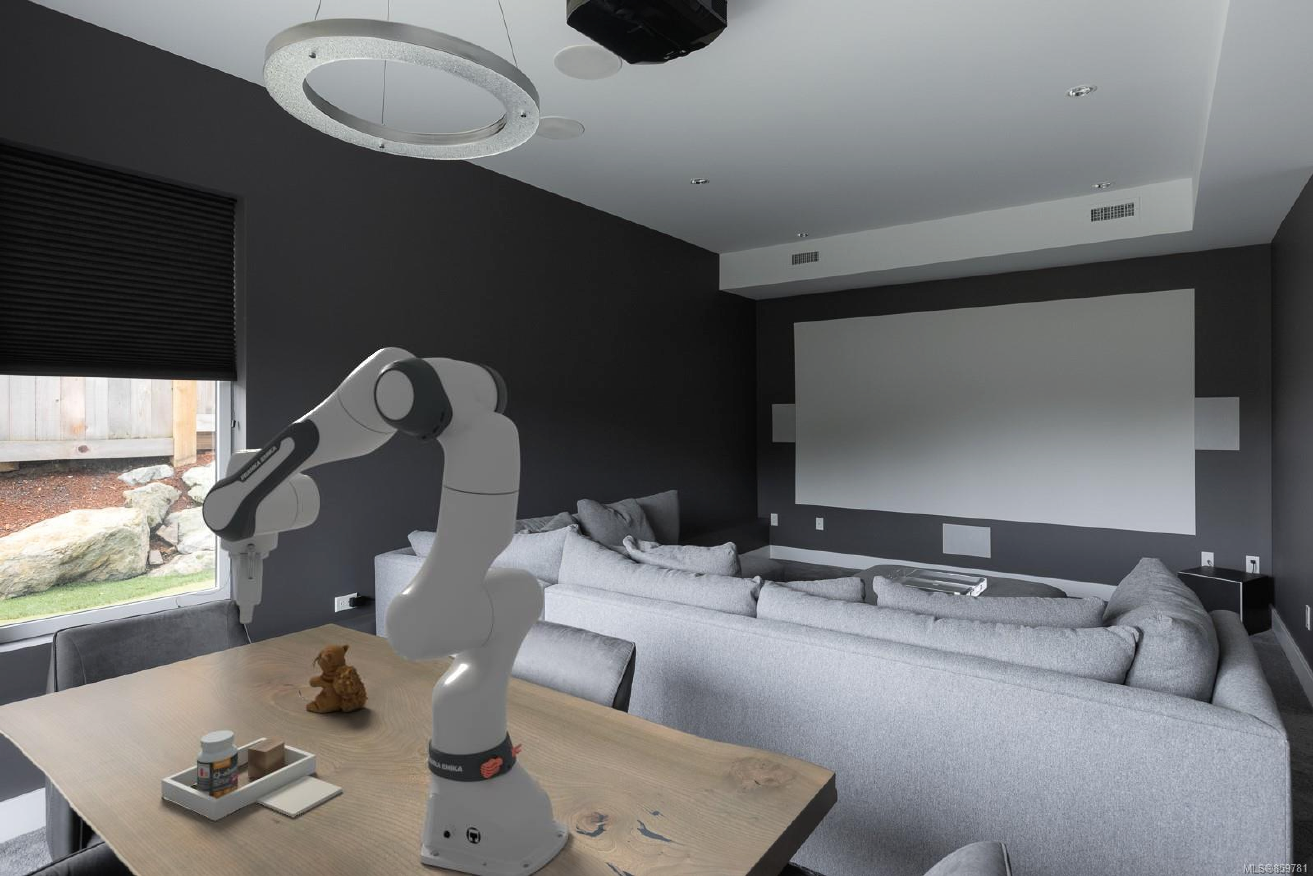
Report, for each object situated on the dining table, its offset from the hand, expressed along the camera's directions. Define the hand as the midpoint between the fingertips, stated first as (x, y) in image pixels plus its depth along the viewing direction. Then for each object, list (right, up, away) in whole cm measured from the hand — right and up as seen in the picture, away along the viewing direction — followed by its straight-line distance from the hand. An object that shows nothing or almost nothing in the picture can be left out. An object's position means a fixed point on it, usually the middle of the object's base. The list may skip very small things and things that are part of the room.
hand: (244, 612), depth 129 cm
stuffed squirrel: (+6, -27, +26) cm, 38 cm away
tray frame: (+3, -28, -7) cm, 29 cm away
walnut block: (+6, -28, -3) cm, 28 cm away
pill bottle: (+2, -28, -10) cm, 30 cm away
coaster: (+15, -28, -11) cm, 34 cm away
